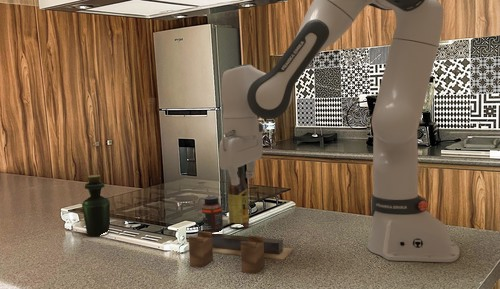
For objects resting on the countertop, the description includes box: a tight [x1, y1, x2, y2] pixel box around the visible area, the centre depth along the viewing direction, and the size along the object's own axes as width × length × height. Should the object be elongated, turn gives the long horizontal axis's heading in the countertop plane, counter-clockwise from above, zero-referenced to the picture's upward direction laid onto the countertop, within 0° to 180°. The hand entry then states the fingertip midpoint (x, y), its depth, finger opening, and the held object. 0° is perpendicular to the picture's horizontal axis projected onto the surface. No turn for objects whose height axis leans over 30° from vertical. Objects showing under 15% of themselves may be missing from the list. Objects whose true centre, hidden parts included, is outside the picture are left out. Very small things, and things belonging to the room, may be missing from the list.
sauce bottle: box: [227, 165, 250, 228], centre depth 157 cm, size 7×6×20 cm
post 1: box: [188, 230, 214, 268], centre depth 127 cm, size 4×5×7 cm, turn 157°
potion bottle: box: [81, 174, 111, 238], centre depth 155 cm, size 8×8×18 cm
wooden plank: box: [212, 247, 294, 261], centre depth 135 cm, size 24×8×1 cm, turn 67°
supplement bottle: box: [201, 195, 224, 232], centre depth 150 cm, size 6×6×11 cm
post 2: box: [240, 235, 265, 274], centre depth 121 cm, size 4×5×7 cm, turn 157°
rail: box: [212, 233, 284, 255], centre depth 135 cm, size 20×3×3 cm, turn 67°
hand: (243, 181), depth 133 cm, fingers open, 8 cm apart
